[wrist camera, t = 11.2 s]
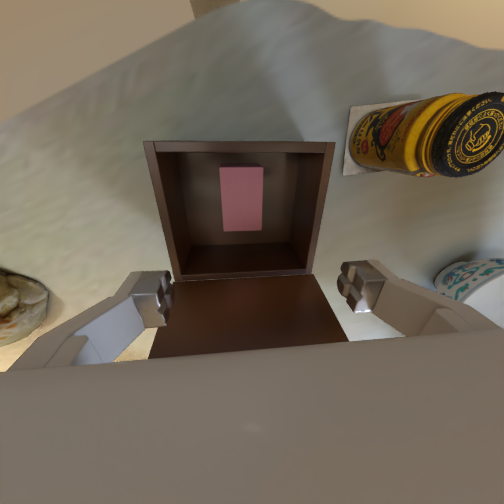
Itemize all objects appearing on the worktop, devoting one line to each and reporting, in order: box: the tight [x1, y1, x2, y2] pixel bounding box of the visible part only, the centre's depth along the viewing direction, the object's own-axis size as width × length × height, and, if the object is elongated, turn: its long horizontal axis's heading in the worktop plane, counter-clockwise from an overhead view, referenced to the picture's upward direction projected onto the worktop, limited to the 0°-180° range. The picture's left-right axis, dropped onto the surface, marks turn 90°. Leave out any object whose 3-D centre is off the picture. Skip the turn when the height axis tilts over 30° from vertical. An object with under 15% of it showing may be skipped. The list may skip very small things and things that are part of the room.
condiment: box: [343, 91, 504, 178], centre depth 19 cm, size 7×8×12 cm
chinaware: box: [435, 258, 504, 328], centre depth 34 cm, size 15×15×8 cm
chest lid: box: [148, 274, 349, 359], centre depth 17 cm, size 14×16×4 cm
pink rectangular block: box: [219, 163, 264, 232], centre depth 23 cm, size 7×4×4 cm, turn 0°
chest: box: [143, 141, 336, 281], centre depth 23 cm, size 14×16×8 cm
